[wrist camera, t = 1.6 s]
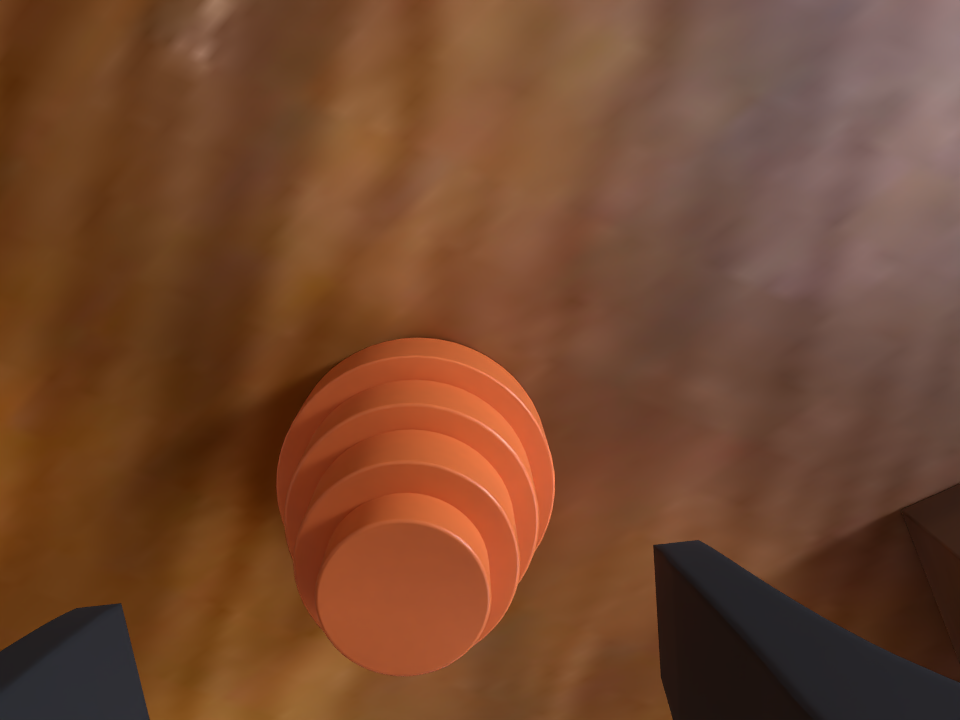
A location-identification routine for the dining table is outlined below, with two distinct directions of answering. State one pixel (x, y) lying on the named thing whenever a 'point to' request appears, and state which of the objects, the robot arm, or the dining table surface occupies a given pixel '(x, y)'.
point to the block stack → (940, 552)
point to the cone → (413, 501)
